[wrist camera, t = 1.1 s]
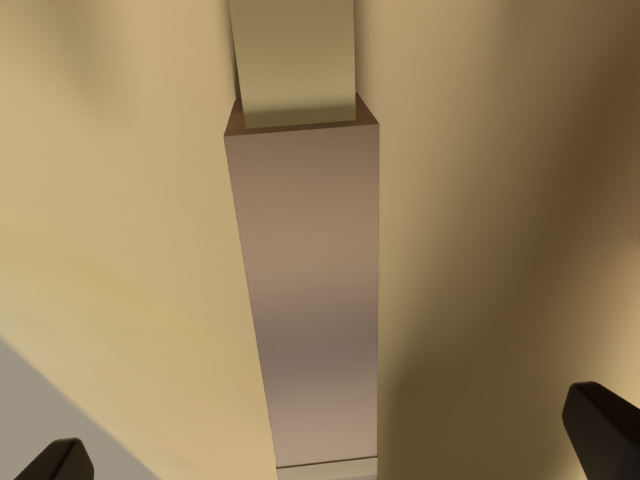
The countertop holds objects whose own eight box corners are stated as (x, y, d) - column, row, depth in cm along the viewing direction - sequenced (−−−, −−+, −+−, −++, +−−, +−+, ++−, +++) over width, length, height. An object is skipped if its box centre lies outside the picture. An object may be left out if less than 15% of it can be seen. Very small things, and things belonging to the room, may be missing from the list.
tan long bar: (361, 417, 18) (377, 495, 15) (281, 426, 17) (282, 506, 15) (354, -51, 10) (382, -62, 7) (213, -42, 10) (191, -50, 7)
